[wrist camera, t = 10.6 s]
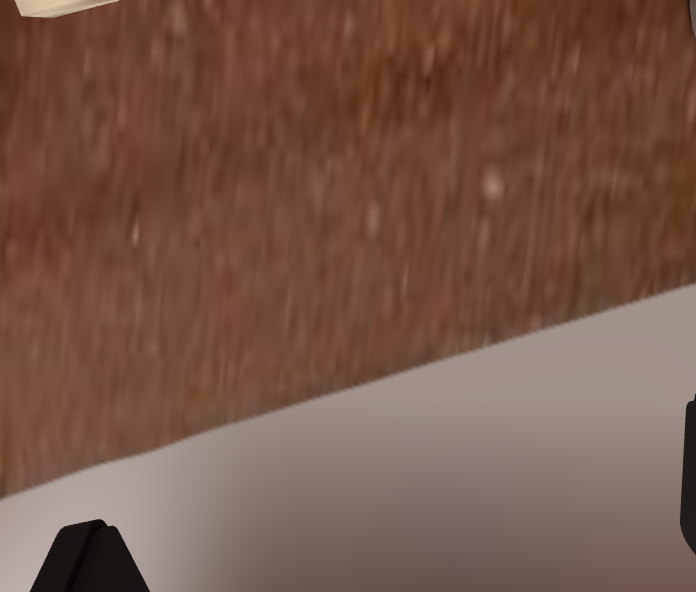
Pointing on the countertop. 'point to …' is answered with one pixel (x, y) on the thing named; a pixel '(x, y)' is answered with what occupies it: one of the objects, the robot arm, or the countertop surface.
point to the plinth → (56, 7)
